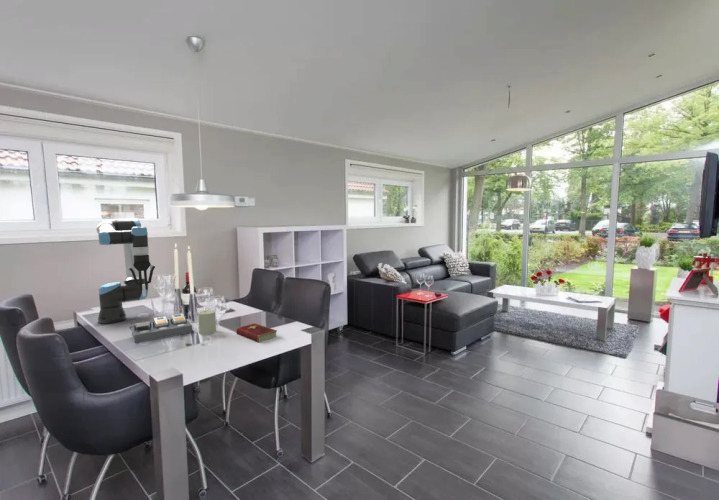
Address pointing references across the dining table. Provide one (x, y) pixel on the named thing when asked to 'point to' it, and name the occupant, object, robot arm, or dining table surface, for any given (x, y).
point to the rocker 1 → (143, 324)
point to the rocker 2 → (178, 318)
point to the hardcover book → (256, 332)
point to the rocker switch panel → (160, 330)
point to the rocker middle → (160, 321)
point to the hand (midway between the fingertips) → (144, 295)
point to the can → (207, 322)
